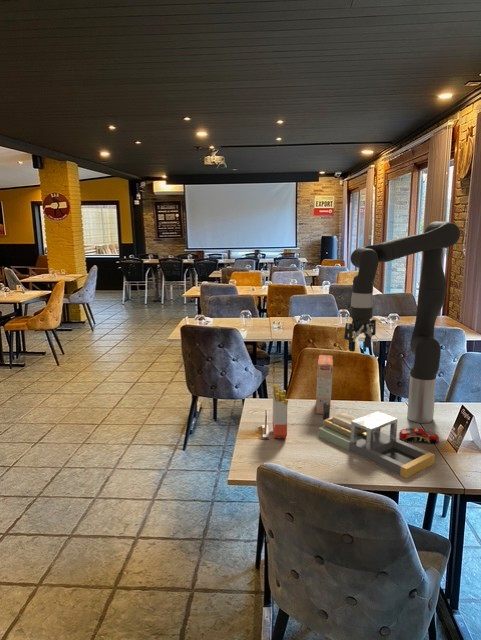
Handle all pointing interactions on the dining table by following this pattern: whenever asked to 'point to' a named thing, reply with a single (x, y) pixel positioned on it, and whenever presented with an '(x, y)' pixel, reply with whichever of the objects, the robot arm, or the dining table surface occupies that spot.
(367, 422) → the steel tunnel
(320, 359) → the cracker box
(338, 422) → the ash block
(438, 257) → the robot arm
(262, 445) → the dining table surface
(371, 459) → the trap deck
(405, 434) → the race car
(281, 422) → the french fries container
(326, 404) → the sled frame
